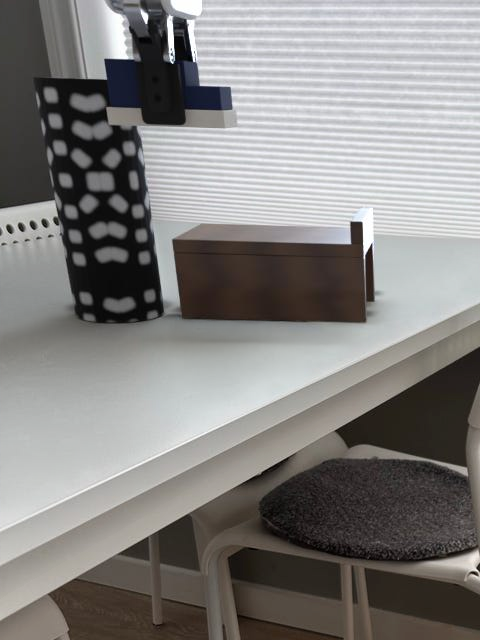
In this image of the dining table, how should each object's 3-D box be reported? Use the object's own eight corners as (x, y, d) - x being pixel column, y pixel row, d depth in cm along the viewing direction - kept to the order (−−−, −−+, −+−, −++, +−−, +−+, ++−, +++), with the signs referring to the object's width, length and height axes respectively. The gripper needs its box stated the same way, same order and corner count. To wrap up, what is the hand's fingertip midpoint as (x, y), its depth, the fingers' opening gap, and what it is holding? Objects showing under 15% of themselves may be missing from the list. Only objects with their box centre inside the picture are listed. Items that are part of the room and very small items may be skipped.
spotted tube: (182, 311, 95) (153, 80, 85) (123, 326, 89) (84, 79, 79) (118, 302, 98) (83, 78, 88) (56, 316, 92) (11, 76, 82)
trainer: (108, 125, 73) (98, 58, 71) (126, 123, 77) (118, 59, 75) (225, 128, 73) (218, 62, 71) (237, 126, 77) (232, 63, 75)
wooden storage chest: (181, 318, 93) (168, 215, 88) (209, 295, 103) (199, 202, 98) (365, 322, 93) (362, 221, 89) (375, 299, 104) (372, 207, 99)
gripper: (124, -151, 73) (158, 119, 82) (35, -210, 59) (88, 125, 68) (221, -147, 73) (244, 122, 82) (157, -206, 59) (193, 129, 68)
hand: (174, 120), depth 75 cm, fingers closed on trainer, 4 cm apart
